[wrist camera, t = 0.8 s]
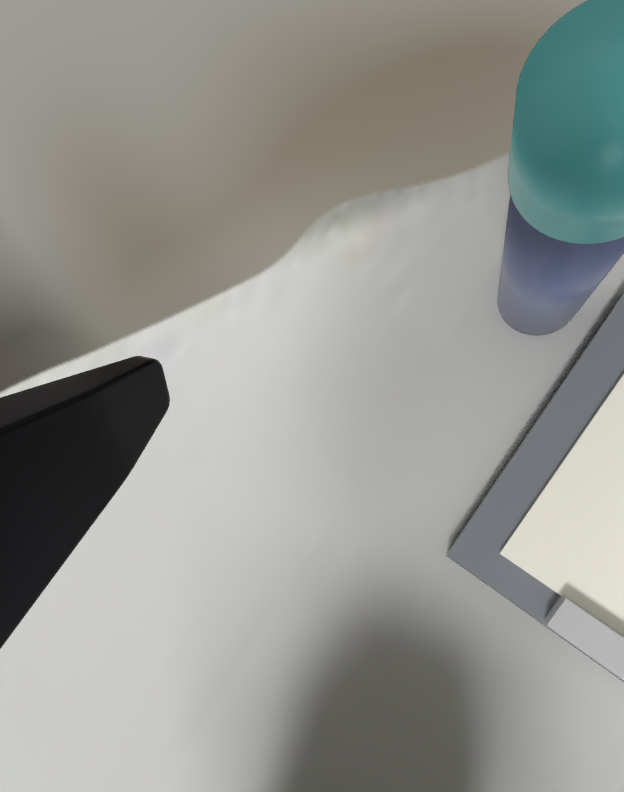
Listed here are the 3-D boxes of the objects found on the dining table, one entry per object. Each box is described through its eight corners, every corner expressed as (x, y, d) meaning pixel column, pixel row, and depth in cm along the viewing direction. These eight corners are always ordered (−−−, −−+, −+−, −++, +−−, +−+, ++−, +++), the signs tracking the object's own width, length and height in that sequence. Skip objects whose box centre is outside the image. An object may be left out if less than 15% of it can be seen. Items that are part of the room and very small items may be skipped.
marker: (552, 352, 20) (669, 220, 8) (479, 313, 21) (476, 139, 8) (600, 281, 19) (806, 18, 7) (523, 244, 20) (587, -42, 8)
